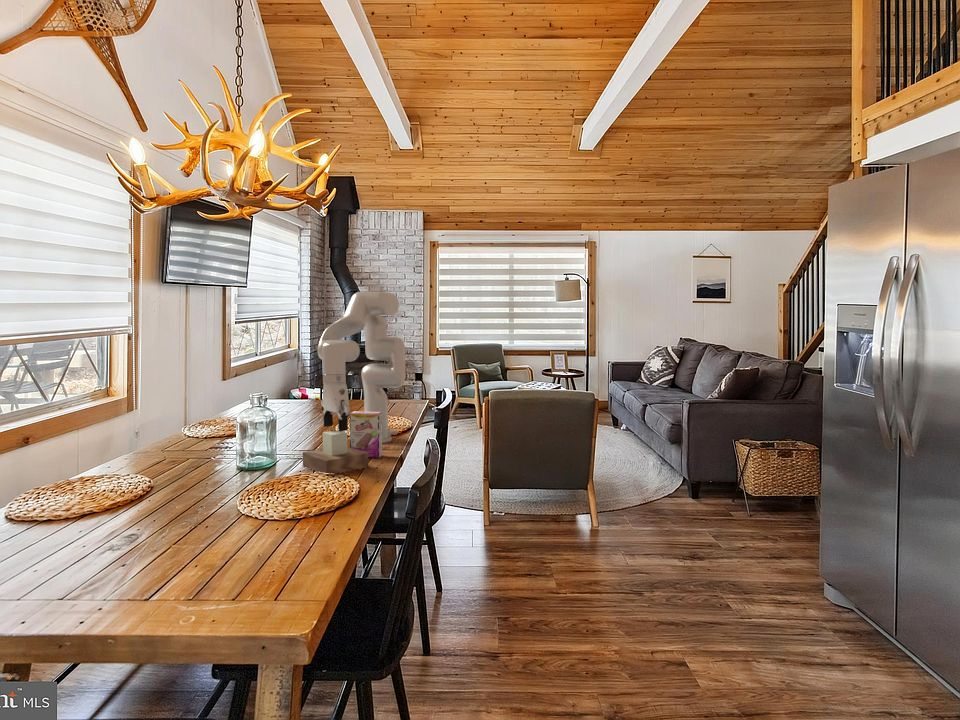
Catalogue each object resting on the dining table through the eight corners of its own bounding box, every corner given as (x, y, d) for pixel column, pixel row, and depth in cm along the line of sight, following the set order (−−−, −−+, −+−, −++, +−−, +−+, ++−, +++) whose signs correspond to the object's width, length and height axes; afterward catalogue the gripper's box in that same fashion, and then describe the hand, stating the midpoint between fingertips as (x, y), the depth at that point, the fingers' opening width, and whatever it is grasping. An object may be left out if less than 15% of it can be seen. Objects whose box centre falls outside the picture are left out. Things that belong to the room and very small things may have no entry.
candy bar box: (349, 457, 230) (348, 413, 228) (353, 454, 235) (352, 410, 233) (379, 458, 229) (379, 413, 227) (383, 455, 234) (382, 411, 232)
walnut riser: (343, 459, 227) (343, 445, 227) (368, 467, 216) (368, 453, 215) (302, 466, 216) (302, 452, 216) (326, 476, 205) (326, 460, 204)
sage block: (338, 449, 220) (338, 430, 219) (347, 452, 215) (347, 432, 215) (322, 452, 216) (322, 432, 215) (331, 455, 211) (331, 435, 211)
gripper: (357, 380, 210) (358, 430, 212) (331, 375, 222) (332, 422, 224) (337, 382, 205) (339, 434, 207) (311, 377, 217) (313, 426, 219)
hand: (335, 428), depth 215 cm, fingers open, 9 cm apart
